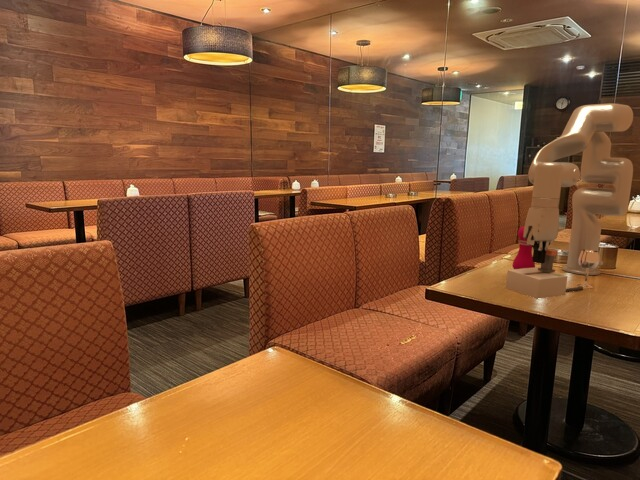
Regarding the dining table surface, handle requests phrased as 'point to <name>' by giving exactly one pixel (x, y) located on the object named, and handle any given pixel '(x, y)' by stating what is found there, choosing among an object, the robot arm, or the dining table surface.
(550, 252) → the breaker handle
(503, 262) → the dining table surface
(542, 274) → the box
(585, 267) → the wineglass
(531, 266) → the pepper mill
